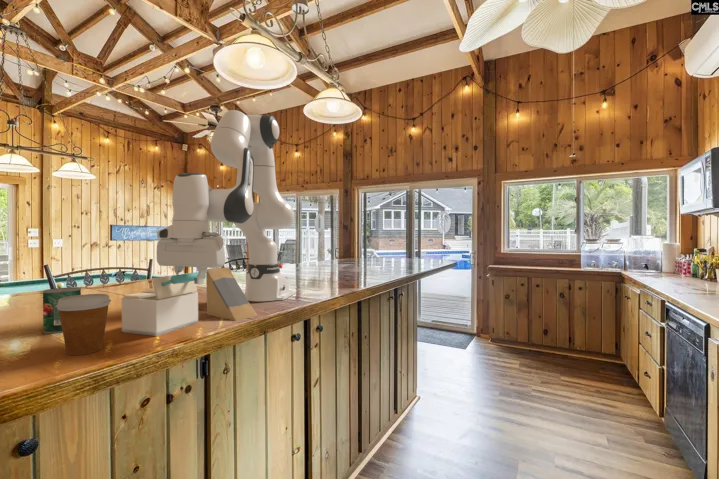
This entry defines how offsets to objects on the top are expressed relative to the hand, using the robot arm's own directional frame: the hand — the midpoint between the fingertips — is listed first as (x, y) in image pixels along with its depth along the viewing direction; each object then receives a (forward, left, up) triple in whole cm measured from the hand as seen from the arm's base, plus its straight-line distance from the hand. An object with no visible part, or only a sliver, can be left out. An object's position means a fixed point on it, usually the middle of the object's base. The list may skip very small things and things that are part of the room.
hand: (190, 283), depth 91 cm
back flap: (-1, -14, -4) cm, 14 cm away
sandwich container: (-19, -2, -13) cm, 23 cm away
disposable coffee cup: (+19, -11, -13) cm, 26 cm away
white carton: (-1, -11, -13) cm, 17 cm away
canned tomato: (+9, -35, -13) cm, 38 cm away
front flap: (-1, -6, -1) cm, 6 cm away
